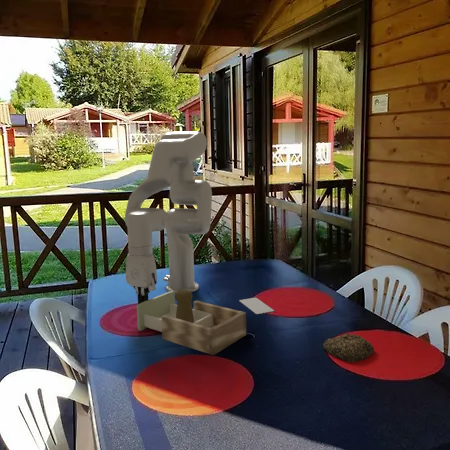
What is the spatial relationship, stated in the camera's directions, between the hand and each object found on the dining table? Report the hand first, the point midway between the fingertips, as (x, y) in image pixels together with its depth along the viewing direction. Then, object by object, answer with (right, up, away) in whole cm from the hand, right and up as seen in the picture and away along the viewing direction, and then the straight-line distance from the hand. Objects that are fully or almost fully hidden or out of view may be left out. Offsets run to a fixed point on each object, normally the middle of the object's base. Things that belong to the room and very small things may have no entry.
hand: (143, 305), depth 154 cm
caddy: (+20, -7, -13) cm, 25 cm away
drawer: (+12, -6, -7) cm, 15 cm away
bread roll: (+61, -9, -24) cm, 66 cm away
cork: (+14, -5, -9) cm, 17 cm away
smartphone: (+37, -3, +11) cm, 39 cm away
